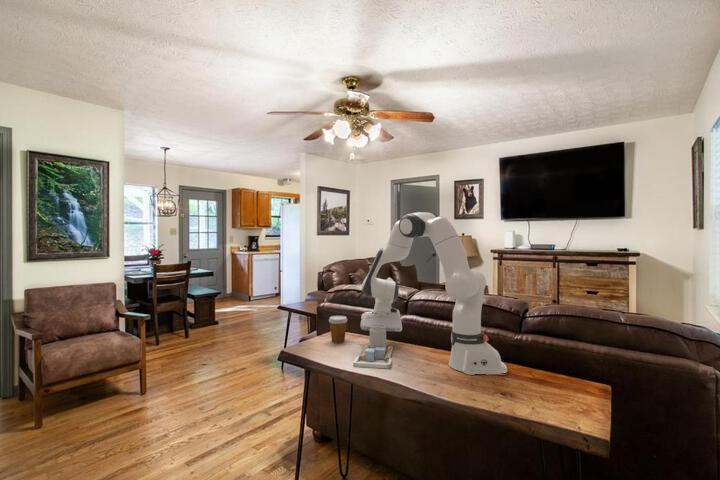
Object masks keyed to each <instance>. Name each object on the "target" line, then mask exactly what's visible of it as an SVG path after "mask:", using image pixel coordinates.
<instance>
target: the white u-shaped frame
mask: <svg viewBox="0 0 720 480" xmlns="http://www.w3.org/2000/svg"><path fill="white" fill-rule="evenodd" d="M359 356H360V355H357V356H356V357H355V359H354V360H353V362H352V363H353V364H352V366H353V367H356V368H357V367H358V368H373V369H374V368H376V369H387V370H389V369H391V367H392V362H393V358H389V361H388V362H387V363H377V362H363V361H360V360H359Z"/></svg>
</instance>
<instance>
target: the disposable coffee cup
mask: <svg viewBox="0 0 720 480" xmlns="http://www.w3.org/2000/svg"><path fill="white" fill-rule="evenodd" d="M328 322H329V327H330V328H329V329H330V334H331V335H330V336H331V343H335V344H341V343H344V342H345V341H346V332H347V331H346V330H347V323H348V317H347V316H345V315H331V316H330V317H329V319H328Z"/></svg>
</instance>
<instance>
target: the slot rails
mask: <svg viewBox="0 0 720 480" xmlns="http://www.w3.org/2000/svg"><path fill="white" fill-rule="evenodd" d="M366 348H370V344H365V345H364V347H363V349H362V350H361V352H360V353H359V355H358V356H359V361H365V349H366ZM393 352H394V346H393V345H389V346H388V347H387V349H386V352H385V359H384V362H385V363H386V362H387V363H388V361H389V358H391V357H392V355H393Z"/></svg>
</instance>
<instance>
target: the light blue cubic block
mask: <svg viewBox="0 0 720 480" xmlns="http://www.w3.org/2000/svg"><path fill="white" fill-rule="evenodd" d="M375 359H376V358H375V349H371V348H366V349H365V359H364V361H370V362H373V361H375Z"/></svg>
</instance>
